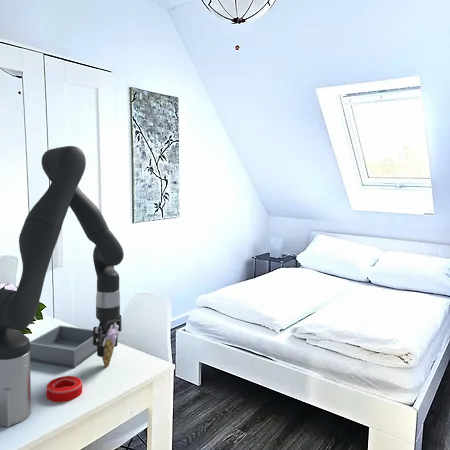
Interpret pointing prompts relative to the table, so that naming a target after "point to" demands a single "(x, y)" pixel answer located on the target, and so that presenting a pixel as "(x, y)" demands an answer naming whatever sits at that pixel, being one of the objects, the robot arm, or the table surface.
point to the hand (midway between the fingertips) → (107, 351)
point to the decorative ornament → (64, 389)
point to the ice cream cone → (109, 346)
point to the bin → (63, 346)
